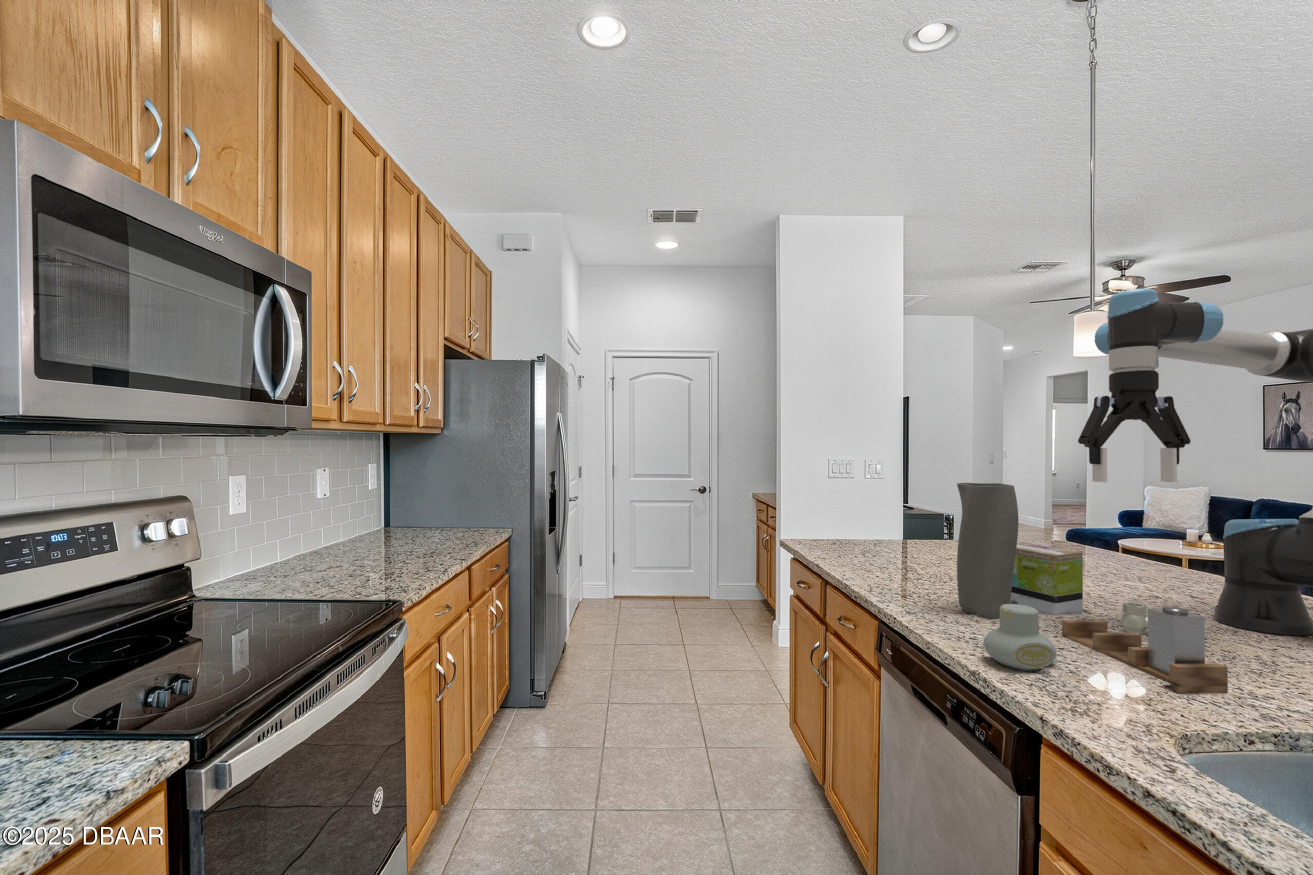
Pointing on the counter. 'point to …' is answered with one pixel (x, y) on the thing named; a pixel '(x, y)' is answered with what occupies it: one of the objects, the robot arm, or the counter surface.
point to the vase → (986, 547)
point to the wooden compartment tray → (1146, 657)
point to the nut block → (1174, 638)
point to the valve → (1135, 618)
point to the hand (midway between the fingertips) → (1134, 482)
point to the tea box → (1048, 579)
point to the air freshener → (1019, 640)
